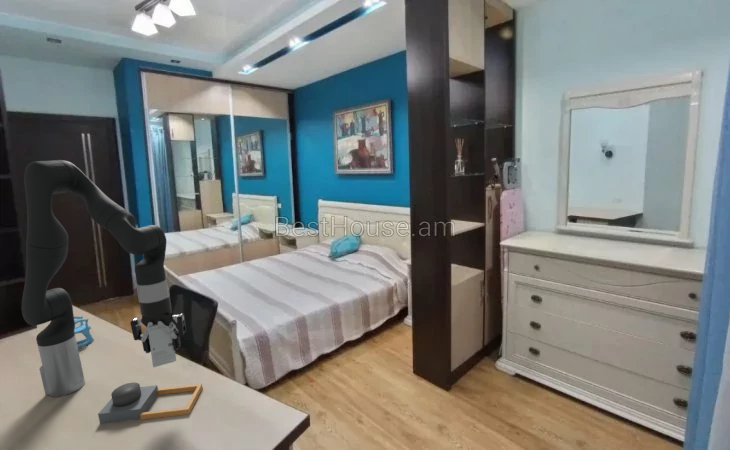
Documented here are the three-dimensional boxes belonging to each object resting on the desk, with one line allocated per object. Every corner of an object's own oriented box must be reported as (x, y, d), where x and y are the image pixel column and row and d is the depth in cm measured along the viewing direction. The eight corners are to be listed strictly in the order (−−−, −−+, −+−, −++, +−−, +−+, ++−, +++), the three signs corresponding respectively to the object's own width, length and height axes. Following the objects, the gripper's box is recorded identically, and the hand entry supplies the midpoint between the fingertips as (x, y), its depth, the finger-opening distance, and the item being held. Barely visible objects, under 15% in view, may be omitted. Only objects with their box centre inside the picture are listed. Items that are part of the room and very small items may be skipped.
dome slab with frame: (98, 424, 101) (94, 405, 100) (122, 397, 113) (118, 379, 112) (189, 413, 104) (186, 395, 102) (202, 388, 115) (200, 370, 114)
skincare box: (153, 368, 103) (146, 328, 101) (152, 361, 106) (145, 322, 104) (177, 360, 106) (171, 322, 104) (175, 354, 110) (169, 316, 108)
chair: (97, 342, 150) (91, 314, 148) (72, 351, 143) (67, 322, 141) (88, 338, 154) (83, 311, 152) (64, 346, 147) (59, 318, 145)
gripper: (120, 304, 98) (130, 360, 101) (175, 299, 100) (184, 354, 103) (133, 294, 105) (143, 346, 108) (185, 289, 107) (193, 341, 110)
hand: (163, 350), depth 106 cm, fingers closed on skincare box, 7 cm apart
